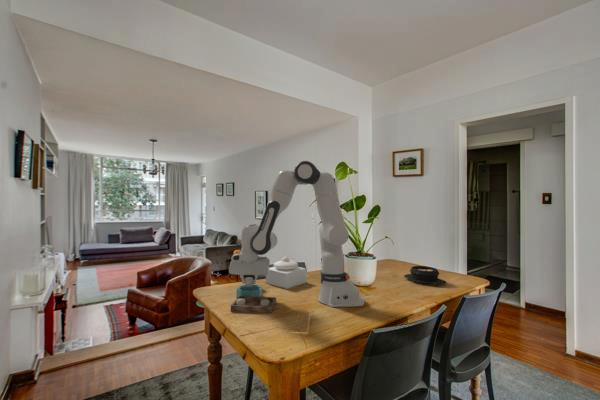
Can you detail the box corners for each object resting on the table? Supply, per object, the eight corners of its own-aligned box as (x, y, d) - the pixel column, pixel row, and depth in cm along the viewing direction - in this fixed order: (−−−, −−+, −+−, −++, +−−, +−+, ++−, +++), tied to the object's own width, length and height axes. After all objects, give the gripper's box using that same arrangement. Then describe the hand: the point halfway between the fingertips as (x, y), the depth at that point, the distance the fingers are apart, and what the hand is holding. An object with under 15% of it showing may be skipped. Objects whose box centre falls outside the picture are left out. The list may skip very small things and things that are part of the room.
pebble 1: (246, 307, 130) (246, 298, 130) (243, 310, 127) (243, 301, 127) (237, 307, 131) (238, 298, 131) (235, 310, 127) (235, 301, 127)
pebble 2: (253, 285, 147) (253, 277, 147) (251, 287, 143) (251, 279, 143) (246, 284, 147) (246, 277, 148) (244, 287, 144) (244, 279, 144)
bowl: (263, 294, 151) (263, 284, 151) (258, 301, 139) (258, 292, 139) (241, 293, 152) (241, 284, 152) (234, 300, 140) (234, 291, 140)
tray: (276, 303, 137) (276, 297, 137) (271, 314, 124) (271, 307, 124) (239, 302, 138) (239, 296, 138) (230, 312, 125) (230, 305, 125)
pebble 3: (269, 308, 129) (269, 299, 129) (268, 311, 126) (268, 302, 126) (261, 308, 130) (261, 299, 130) (259, 311, 126) (259, 302, 126)
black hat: (397, 279, 182) (397, 266, 182) (413, 275, 194) (413, 263, 194) (436, 289, 162) (436, 274, 162) (451, 284, 174) (452, 270, 174)
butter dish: (306, 282, 174) (306, 256, 174) (285, 289, 160) (286, 261, 160) (285, 277, 185) (286, 253, 186) (264, 283, 172) (265, 256, 172)
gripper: (270, 255, 148) (270, 282, 148) (232, 254, 150) (231, 280, 149) (268, 258, 142) (267, 286, 142) (228, 256, 143) (227, 284, 143)
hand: (248, 283), depth 145 cm, fingers closed on pebble 2, 4 cm apart
